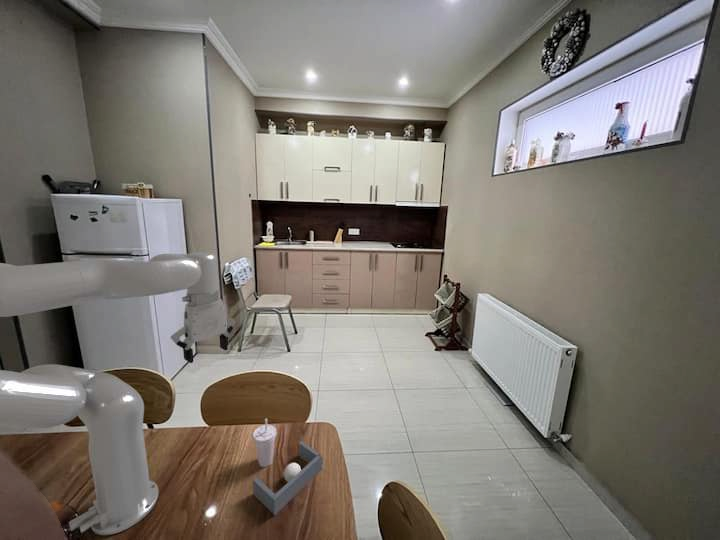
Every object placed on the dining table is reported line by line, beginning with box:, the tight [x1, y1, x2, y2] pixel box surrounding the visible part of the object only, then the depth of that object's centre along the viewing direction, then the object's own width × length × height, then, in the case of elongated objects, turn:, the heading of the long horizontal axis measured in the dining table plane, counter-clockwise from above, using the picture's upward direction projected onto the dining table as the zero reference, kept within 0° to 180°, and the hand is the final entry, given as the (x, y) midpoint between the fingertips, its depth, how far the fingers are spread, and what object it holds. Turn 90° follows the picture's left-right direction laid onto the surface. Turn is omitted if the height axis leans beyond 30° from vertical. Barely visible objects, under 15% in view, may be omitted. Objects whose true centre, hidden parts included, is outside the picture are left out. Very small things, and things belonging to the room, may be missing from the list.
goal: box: [252, 440, 323, 516], centre depth 76 cm, size 16×8×4 cm, turn 144°
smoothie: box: [252, 418, 277, 468], centre depth 81 cm, size 6×6×14 cm
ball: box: [283, 462, 302, 483], centre depth 77 cm, size 4×4×4 cm
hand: (207, 354), depth 82 cm, fingers open, 9 cm apart
